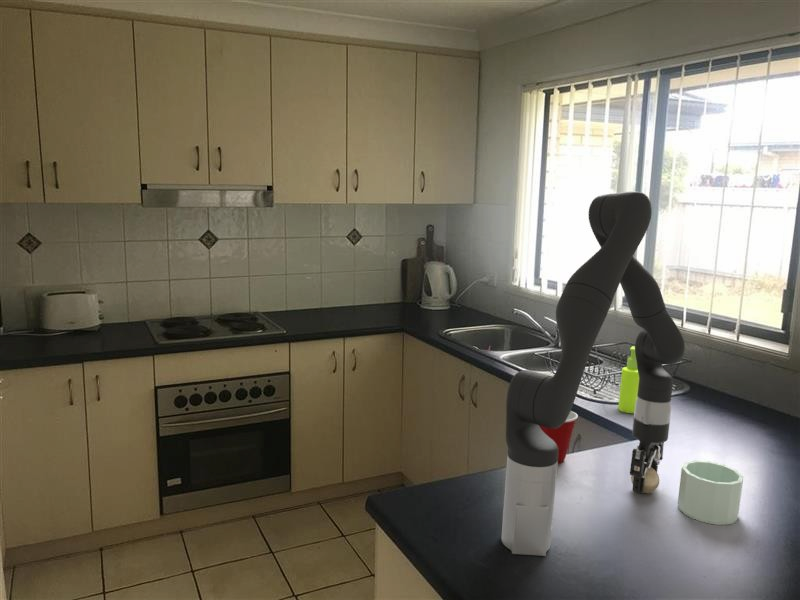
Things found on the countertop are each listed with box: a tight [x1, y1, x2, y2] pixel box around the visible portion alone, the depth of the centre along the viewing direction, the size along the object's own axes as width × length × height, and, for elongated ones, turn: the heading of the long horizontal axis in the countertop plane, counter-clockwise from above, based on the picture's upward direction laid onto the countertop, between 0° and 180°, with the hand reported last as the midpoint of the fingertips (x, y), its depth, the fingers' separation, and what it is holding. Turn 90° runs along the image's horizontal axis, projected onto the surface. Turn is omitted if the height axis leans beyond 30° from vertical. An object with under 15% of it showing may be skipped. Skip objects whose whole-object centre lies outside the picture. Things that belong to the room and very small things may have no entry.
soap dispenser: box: [617, 345, 639, 414], centre depth 207 cm, size 6×7×20 cm
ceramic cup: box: [677, 460, 745, 526], centre depth 142 cm, size 12×12×9 cm
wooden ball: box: [630, 467, 660, 494], centre depth 151 cm, size 6×6×6 cm
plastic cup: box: [539, 410, 579, 464], centre depth 167 cm, size 11×11×12 cm
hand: (644, 485), depth 151 cm, fingers open, 8 cm apart
